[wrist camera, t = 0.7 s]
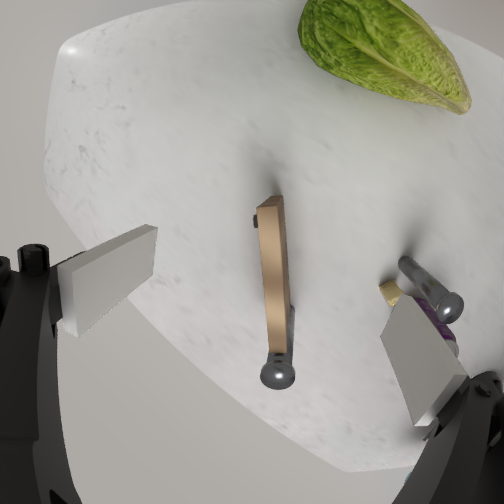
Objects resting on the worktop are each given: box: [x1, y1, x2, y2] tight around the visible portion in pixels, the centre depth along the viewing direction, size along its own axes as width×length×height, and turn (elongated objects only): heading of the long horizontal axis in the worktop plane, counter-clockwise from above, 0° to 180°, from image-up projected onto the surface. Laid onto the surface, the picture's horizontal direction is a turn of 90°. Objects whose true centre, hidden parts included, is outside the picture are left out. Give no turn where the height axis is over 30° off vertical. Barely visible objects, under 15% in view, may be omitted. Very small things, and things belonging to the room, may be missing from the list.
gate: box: [253, 196, 290, 353], centre depth 32 cm, size 15×3×12 cm, turn 6°
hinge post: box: [260, 305, 295, 390], centre depth 34 cm, size 4×4×15 cm
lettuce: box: [298, 0, 472, 115], centre depth 23 cm, size 15×24×14 cm, turn 64°
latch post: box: [398, 256, 464, 324], centre depth 29 cm, size 3×3×15 cm
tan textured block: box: [379, 280, 405, 307], centre depth 35 cm, size 1×2×5 cm, turn 115°
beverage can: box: [413, 298, 459, 358], centre depth 32 cm, size 7×7×12 cm
